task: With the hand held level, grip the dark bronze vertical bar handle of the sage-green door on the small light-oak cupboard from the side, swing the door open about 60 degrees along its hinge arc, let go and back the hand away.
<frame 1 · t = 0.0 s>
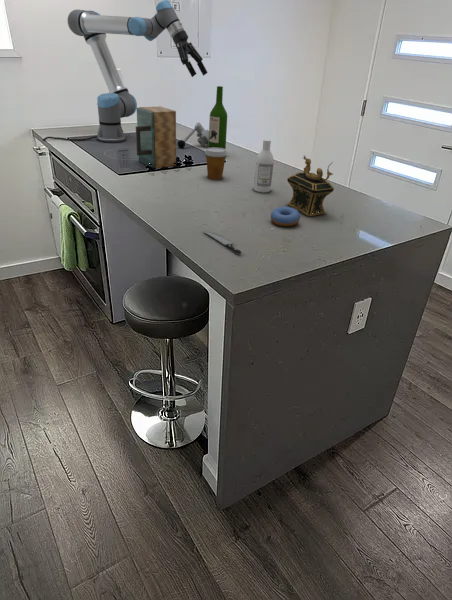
hand: (200, 74, 221), 36 cm above the worktop, tool tilted 35°, fingers open, 13 cm apart
cabinet: (158, 163, 205), on the worktop
disposable coffee cup: (214, 178, 191), on the worktop
chef's knife: (224, 243, 131), on the worktop
bath foam: (261, 190, 179), on the worktop
doughnut: (284, 223, 148), on the worktop
mechanical valve: (195, 147, 240), on the worktop
door: (139, 138, 194), point 12 cm above the worktop, hinge at 0.0°
decorative box: (308, 211, 160), on the worktop
wine bottle: (216, 155, 227), on the worktop
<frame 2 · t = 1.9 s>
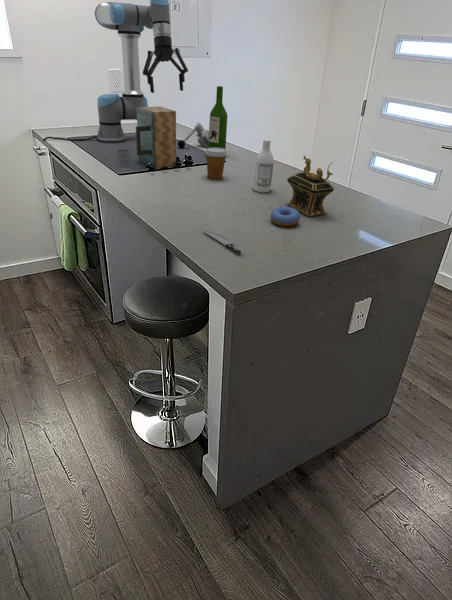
hand: (166, 91, 192), 31 cm above the worktop, tool pointing down, fingers open, 13 cm apart
nothing on the worktop moved.
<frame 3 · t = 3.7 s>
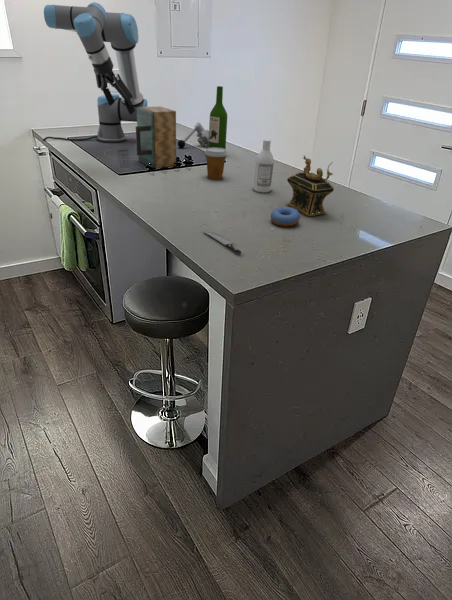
hand: (122, 108, 184), 25 cm above the worktop, tool tilted 30°, fingers open, 13 cm apart
nothing on the worktop moved.
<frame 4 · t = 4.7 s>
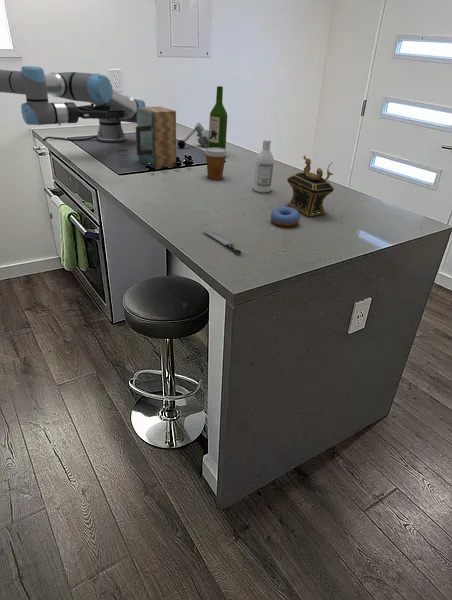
hand: (116, 111, 178), 25 cm above the worktop, tool horizontal, fingers open, 13 cm apart
nothing on the worktop moved.
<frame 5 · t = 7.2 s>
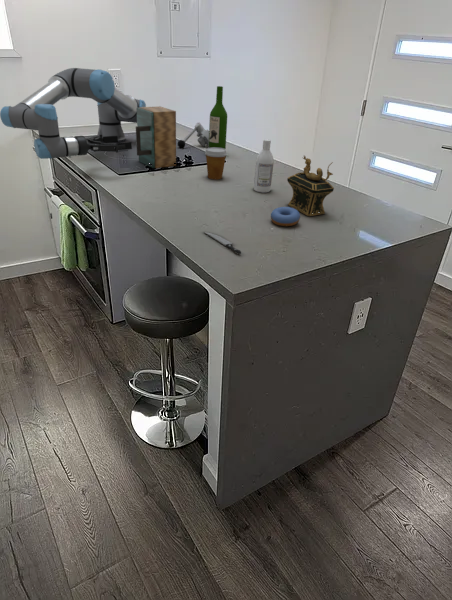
hand: (124, 142, 186), 12 cm above the worktop, tool horizontal, fingers open, 13 cm apart
nothing on the worktop moved.
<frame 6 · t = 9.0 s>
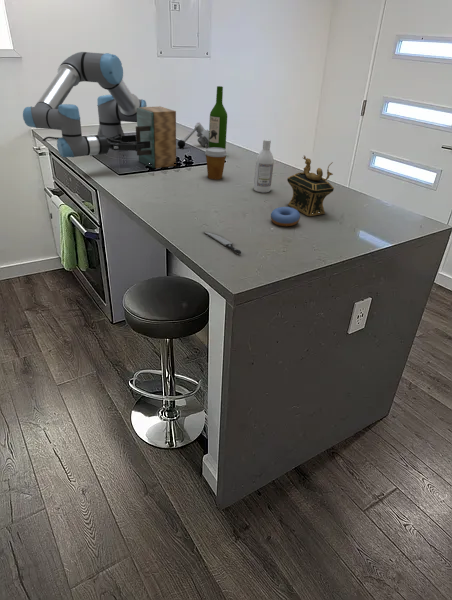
hand: (142, 141, 191), 12 cm above the worktop, tool horizontal, fingers open, 13 cm apart
nothing on the worktop moved.
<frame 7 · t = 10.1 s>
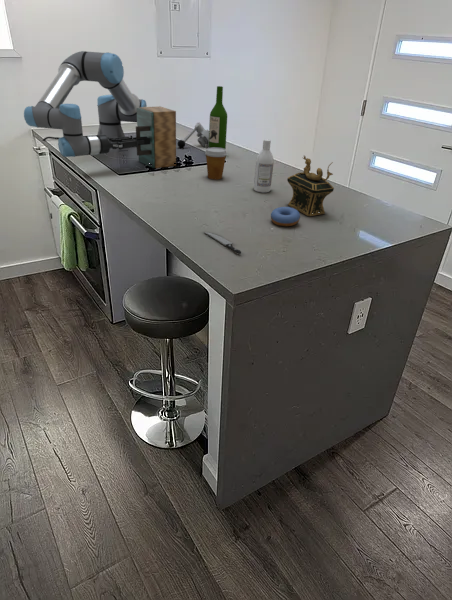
hand: (148, 140, 192), 12 cm above the worktop, tool horizontal, fingers closed on door, 2 cm apart
door: (139, 138, 194), point 12 cm above the worktop, hinge at 0.0°, touching gripper
everything else where it was.
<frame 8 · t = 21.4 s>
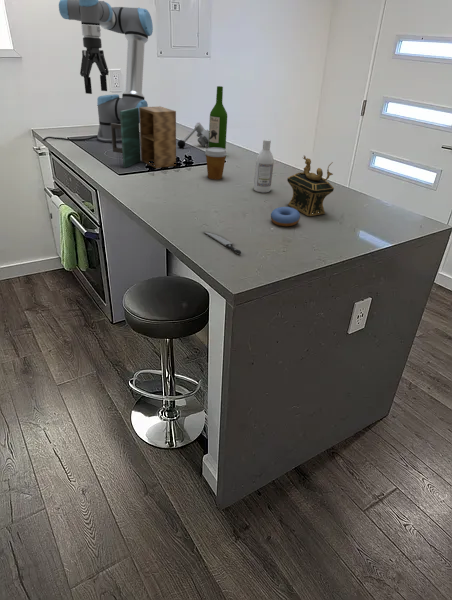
hand: (96, 92, 194), 29 cm above the worktop, tool pointing down, fingers open, 13 cm apart
door: (124, 136, 196), point 12 cm above the worktop, hinge at 56.5°
everything else where it was.
at the end: door at +56° (first picture: +0°); door reached +56° during the clip, +56° at the end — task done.
